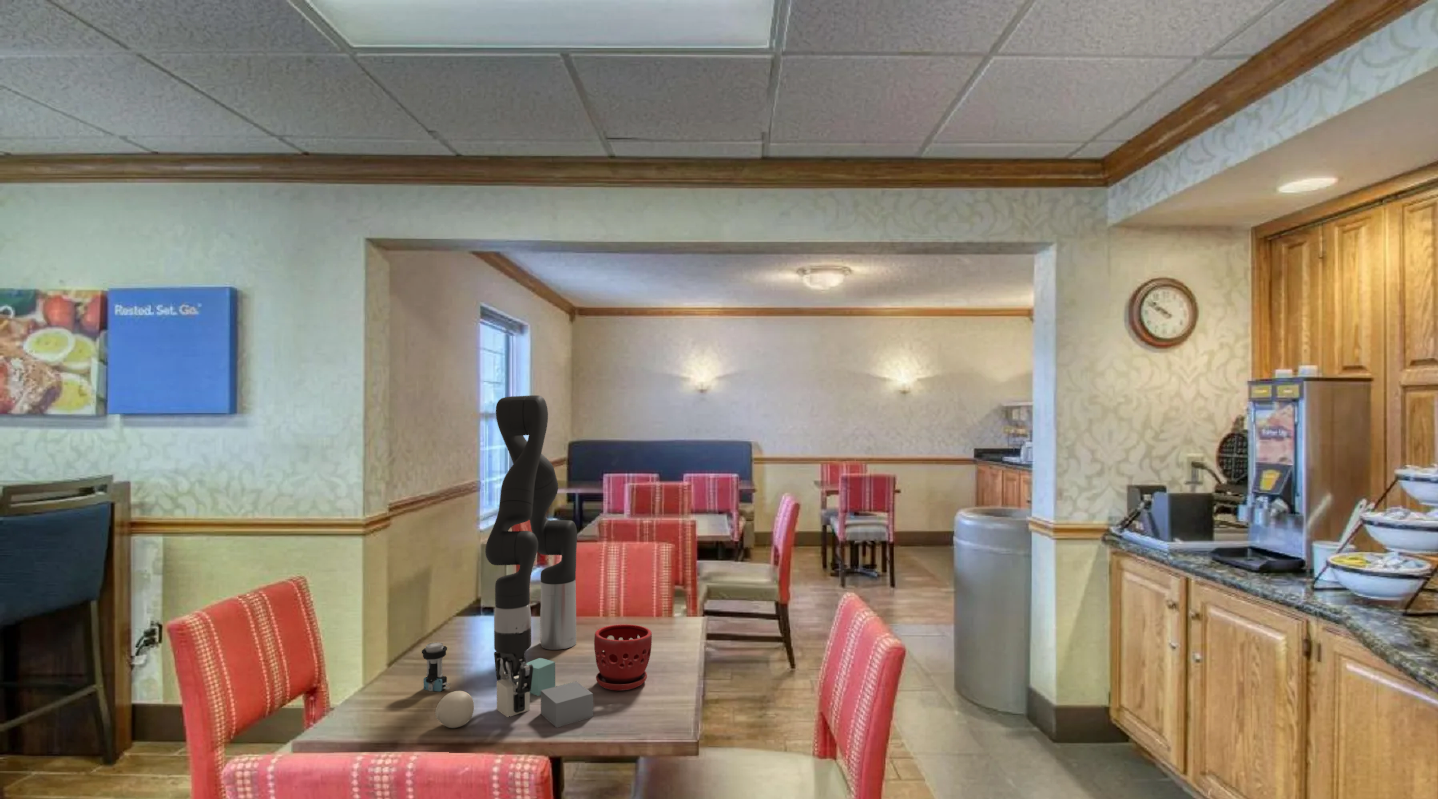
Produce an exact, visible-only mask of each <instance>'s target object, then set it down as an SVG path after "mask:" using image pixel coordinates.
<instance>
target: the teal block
mask: <svg viewBox="0 0 1438 799" xmlns="http://www.w3.org/2000/svg"><path fill="white" fill-rule="evenodd" d="M526 664H527V665H531V664H532V666H533V674H532V683H531V691H530V695H534V696H538V697H541V690H545V689H549V688H552V687H556V661H553V660H549V659H546V658H542V657H538V658H536V659H533V660H531V661H528V662H526Z"/></svg>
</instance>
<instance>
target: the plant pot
mask: <svg viewBox="0 0 1438 799" xmlns="http://www.w3.org/2000/svg"><path fill="white" fill-rule="evenodd" d="M652 634H653V633H652V631H651V630H650V629H649V628H648V627H645V626H643V625H639V624H638V625H637V624H628V623H625V624H622V623H621V624H610V625H606V626H603V627H599V629H597V630H596V631H595V633H594V638H593V639H594V640H593V642H594V643H593V647H594V654H595V664H596V667H597V669H598V672H597V674H596V675H595V679H596V682H597V684H598V685H599V686H600V687H602V688H603V689H605V690H611V691H629V690H633V689H635V688H638V687H640V686H642V685H643V684H644V683H645V681H646V680H647V678H648V673H647V672H646V670H647V668H648V665H649V662H650V659H651V653H652V646H653V645H652V643H653V642H652V640H653V636H652ZM610 636H612V637H613V639H611V638H610V639H609V637H610ZM638 637H639V638H638Z"/></svg>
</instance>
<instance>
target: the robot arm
mask: <svg viewBox="0 0 1438 799" xmlns="http://www.w3.org/2000/svg"><path fill="white" fill-rule="evenodd" d="M495 419H496V424H497V426H498V429H499V432H500V434H501V437H502V440H503V442H504V444H505V446H506V448H507V451H508V453H509V456H510V458H511V462H512V465H511V466H510V468H509V470H507V473H506V475H505V476H504V477H503V480H502V484H501V489H500V494H499V495H500V496H499V505H498V513H497V516H496V518H495V521H494V524H493V527H492V530H491V532H490V533H489V536H488V538H487V542H486V544H485V558H486V559H487V561H488V563H489V564H490V565H494V566H517V565H518V566H519V570H518V571H517V572H514V573H510V574H507V575H503V576H499V578H497V580H496V581H495V585H494V589H495V590H494V603H495V604H494V606H495V607H494V613H493V614H494V615H493V635H494V636H493V641H494V642H493V648H494V653H493V656H494V668H495V678H496V681H499V680H502V679H503V680H504V679H506V678H509V682H510V683H511V684H512V686H513V692H514V712H516V713H518V712H521V711H523V710H524V709H525V693H526V692H530V691H531V683H532V674H533V666H532V664H531V665H527V664H526V663H527V658H526V654H525V653H526V651H527V650H529V649H530V648H531V647H532V610H531V603H530V602H531V595H530V594H531V592H530V590H531V577H532V572H533V567H534V563H535V560H536V557H537V554H540V555H542V556H543V555H544V556H561V559H560V561H559V562H558V563H555V564H553V565H550V566H548V567H546V568H544V569H542V570H541V571H540V608H539V609H540V610H539V616H540V618H539V620H540V621H539V622H540V623H539V624H540V626H539V627H540V628H539V630H540V631H539V632H540V634H539V635H540V637H539V638H540V646H541V647H542V648H543V649H545V650H553V651H554V650H555V651H556V650H558V651H559V650H563V649H564V650H566V649H568V648H572V647H574V646H575V645H576V644H577V590H576V589H577V588H576V586H577V585H576V584H577V582H576V581H577V580H576V577H577V576H576V575H577V572H576V571H577V545H578V528H577V525H576V523H575V521H573V520H570V519H569V520H568V519H567V520H566V519H565V520H562V519H561V520H560V519H555V520H554V519H553V520H552V519H551V520H549V519H548V518H547V517H546V515H547V512H548V510H549V509H550V507H551V506H552V504H553V502H554V501H555V499H556V498H557V494H558V492H559V484H558V479H557V474H556V472H555V467H554V465H553V463H552V462H551V461H550V460H549V458H547V457H546V456H545V455H544V454H543V453H542V451H543V446H544V442H545V438H546V434H547V429H548V421H549V410H548V404H547V402H546V400H545V398H544V397H543V396H541V395H535V394H534V395H518V396H517V395H516V396H514V395H512V396H506V397H502V398H500V399H498V400H497V402H496V406H495ZM525 436H528V438H527V439H526V437H525ZM528 521H529V523H530V524H529V525H530V528H531V530H513V531H510V529H511V528H512V527H514V526H516V525H519V524H524V523H526V522H528ZM515 676H519V678H516V679H515V678H514V677H515ZM517 682H518V688H517ZM526 683H527V684H526Z"/></svg>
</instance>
